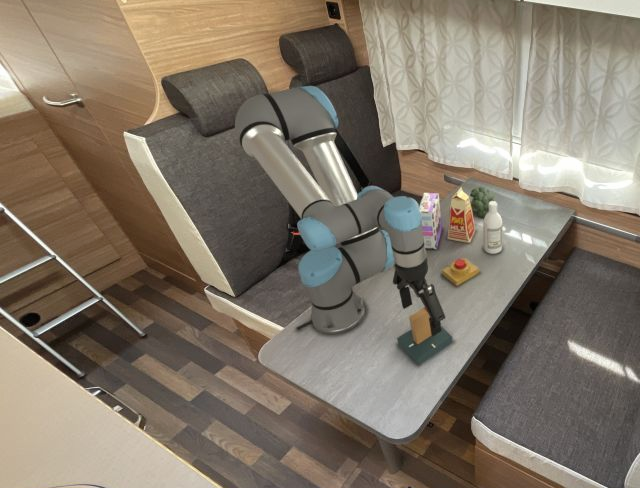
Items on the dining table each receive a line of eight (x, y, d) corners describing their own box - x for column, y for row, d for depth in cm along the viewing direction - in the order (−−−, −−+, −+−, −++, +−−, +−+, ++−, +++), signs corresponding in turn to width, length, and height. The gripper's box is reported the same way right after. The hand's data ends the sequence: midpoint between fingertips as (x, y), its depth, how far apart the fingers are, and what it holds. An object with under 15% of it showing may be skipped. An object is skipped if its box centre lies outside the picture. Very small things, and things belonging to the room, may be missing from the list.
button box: (456, 286, 136) (456, 277, 133) (442, 274, 140) (441, 265, 138) (479, 273, 141) (478, 264, 139) (464, 262, 146) (464, 253, 143)
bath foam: (505, 249, 152) (507, 204, 139) (491, 256, 148) (491, 210, 135) (494, 240, 156) (494, 195, 143) (480, 247, 152) (479, 202, 139)
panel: (418, 366, 112) (417, 359, 109) (398, 344, 117) (396, 337, 115) (452, 342, 118) (451, 335, 116) (431, 323, 123) (430, 316, 121)
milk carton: (469, 242, 154) (467, 197, 141) (446, 239, 156) (442, 194, 142) (475, 229, 161) (474, 185, 148) (453, 226, 162) (450, 181, 149)
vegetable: (467, 196, 176) (497, 186, 170) (473, 224, 175) (503, 215, 169) (452, 191, 165) (484, 180, 159) (458, 221, 164) (490, 212, 158)
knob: (417, 344, 113) (412, 320, 106) (413, 340, 114) (408, 316, 108) (434, 333, 116) (431, 309, 110) (430, 329, 118) (427, 305, 111)
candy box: (437, 249, 151) (433, 212, 140) (421, 249, 151) (416, 211, 140) (442, 228, 161) (439, 192, 150) (428, 227, 161) (423, 191, 150)
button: (459, 270, 137) (459, 266, 135) (452, 265, 138) (452, 261, 137) (467, 266, 139) (467, 262, 137) (461, 261, 140) (460, 257, 139)
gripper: (455, 277, 92) (461, 337, 106) (395, 230, 105) (407, 289, 119) (428, 292, 88) (437, 353, 101) (369, 242, 101) (385, 302, 115)
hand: (421, 319), depth 110 cm, fingers open, 13 cm apart
